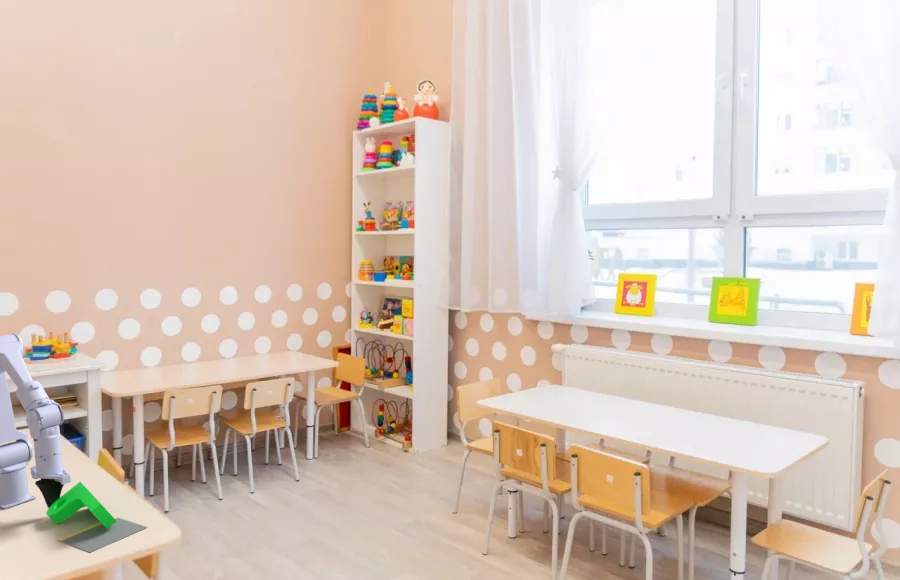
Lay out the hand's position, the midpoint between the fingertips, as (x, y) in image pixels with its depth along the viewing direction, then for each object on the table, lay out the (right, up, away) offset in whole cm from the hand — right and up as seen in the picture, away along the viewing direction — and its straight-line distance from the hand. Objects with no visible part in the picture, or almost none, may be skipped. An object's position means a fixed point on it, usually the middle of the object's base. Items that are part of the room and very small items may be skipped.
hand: (53, 506), depth 171 cm
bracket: (+10, -3, -6) cm, 12 cm away
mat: (+18, -3, -11) cm, 21 cm away
